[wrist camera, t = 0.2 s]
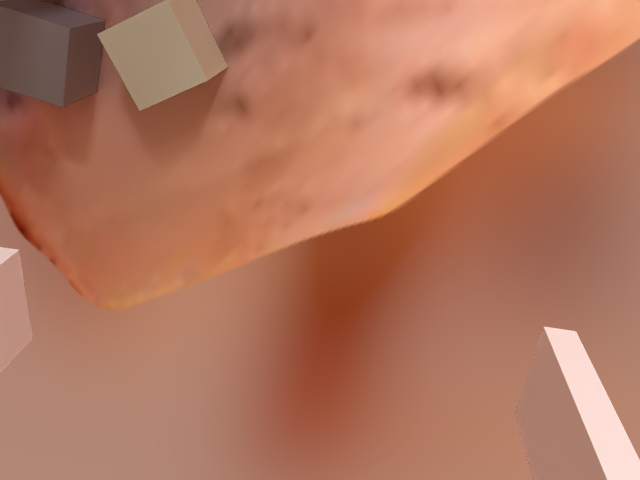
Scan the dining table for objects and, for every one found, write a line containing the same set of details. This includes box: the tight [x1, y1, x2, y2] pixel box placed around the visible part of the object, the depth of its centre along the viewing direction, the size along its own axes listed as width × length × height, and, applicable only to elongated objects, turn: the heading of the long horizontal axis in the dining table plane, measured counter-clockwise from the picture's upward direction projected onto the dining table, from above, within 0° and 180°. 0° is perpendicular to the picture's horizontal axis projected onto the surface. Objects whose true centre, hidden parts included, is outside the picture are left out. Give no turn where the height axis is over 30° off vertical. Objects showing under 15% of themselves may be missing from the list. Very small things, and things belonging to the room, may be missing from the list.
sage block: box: [97, 0, 228, 111], centre depth 37 cm, size 5×5×5 cm
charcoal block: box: [0, 0, 105, 108], centre depth 38 cm, size 5×5×5 cm
